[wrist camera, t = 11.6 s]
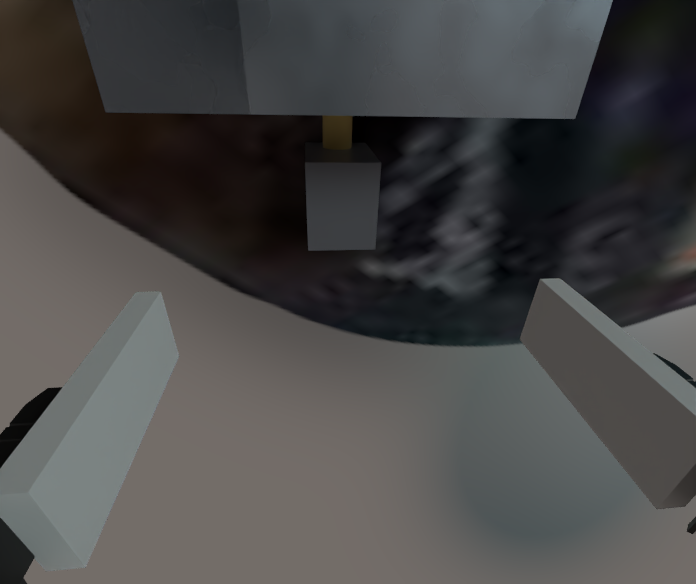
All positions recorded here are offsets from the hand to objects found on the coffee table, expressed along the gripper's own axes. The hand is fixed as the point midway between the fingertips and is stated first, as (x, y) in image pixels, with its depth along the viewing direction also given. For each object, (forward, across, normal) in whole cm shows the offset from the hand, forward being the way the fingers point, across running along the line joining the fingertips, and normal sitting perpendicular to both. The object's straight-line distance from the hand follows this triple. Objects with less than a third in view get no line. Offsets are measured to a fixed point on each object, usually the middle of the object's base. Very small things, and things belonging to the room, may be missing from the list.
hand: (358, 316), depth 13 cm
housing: (+15, 0, +9) cm, 17 cm away
